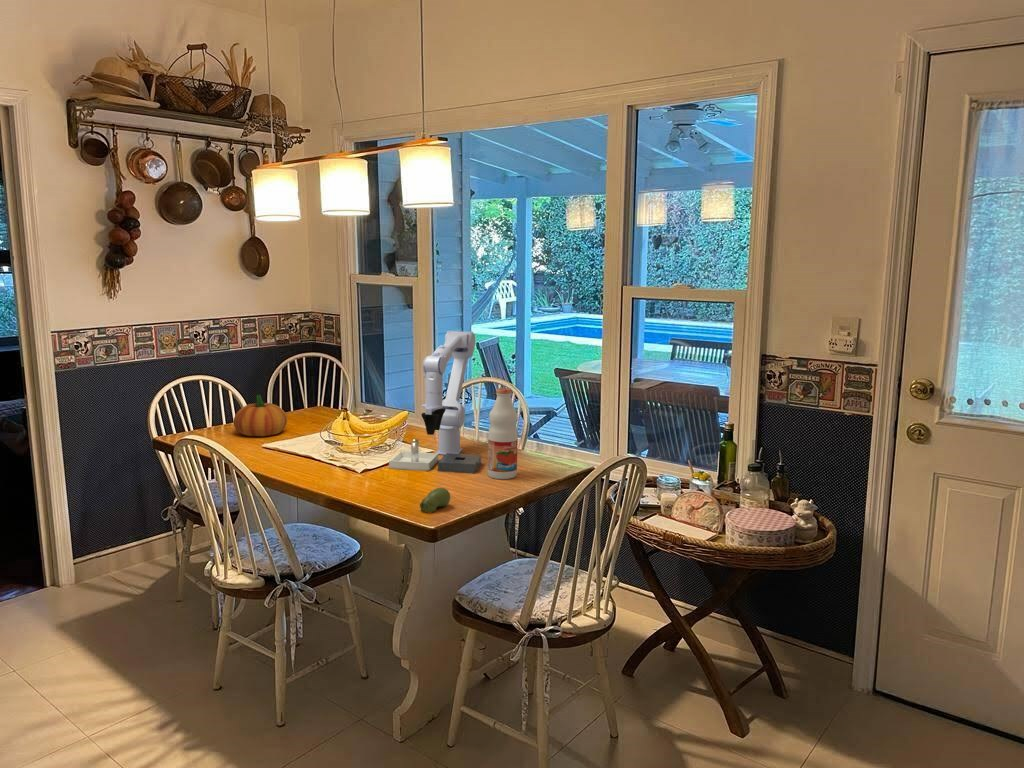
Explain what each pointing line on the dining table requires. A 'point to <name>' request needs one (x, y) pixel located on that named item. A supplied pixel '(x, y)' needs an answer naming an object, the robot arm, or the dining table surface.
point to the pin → (414, 450)
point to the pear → (435, 500)
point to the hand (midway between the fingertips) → (433, 432)
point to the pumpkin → (260, 419)
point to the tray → (404, 462)
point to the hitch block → (459, 463)
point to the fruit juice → (502, 437)
